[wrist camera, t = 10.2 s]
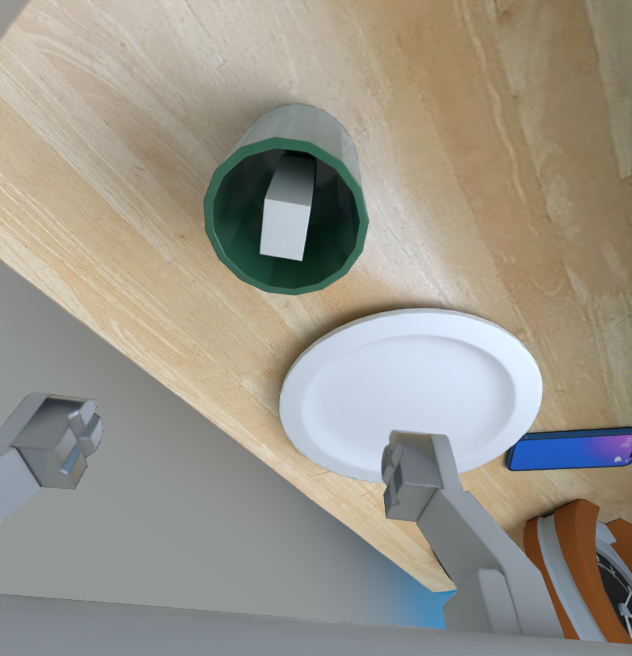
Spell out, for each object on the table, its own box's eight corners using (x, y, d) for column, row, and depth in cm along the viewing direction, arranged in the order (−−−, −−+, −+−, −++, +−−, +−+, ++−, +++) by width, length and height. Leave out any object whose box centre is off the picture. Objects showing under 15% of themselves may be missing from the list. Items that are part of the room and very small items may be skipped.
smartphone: (513, 438, 47) (651, 431, 45) (511, 432, 48) (646, 425, 46) (505, 472, 52) (630, 466, 50) (503, 466, 52) (626, 460, 50)
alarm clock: (650, 534, 63) (776, 738, 45) (592, 554, 68) (684, 744, 50) (565, 489, 55) (675, 712, 38) (508, 515, 60) (580, 722, 43)
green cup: (238, 94, 26) (198, 126, 19) (369, 113, 27) (384, 152, 19) (238, 220, 32) (208, 285, 24) (347, 234, 32) (351, 302, 25)
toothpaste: (281, 147, 28) (260, 197, 20) (320, 154, 28) (314, 207, 20) (276, 191, 30) (256, 253, 22) (312, 198, 30) (305, 261, 22)
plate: (509, 252, 33) (519, 266, 31) (548, 438, 48) (557, 454, 46) (233, 354, 41) (228, 370, 40) (340, 485, 57) (341, 500, 55)
